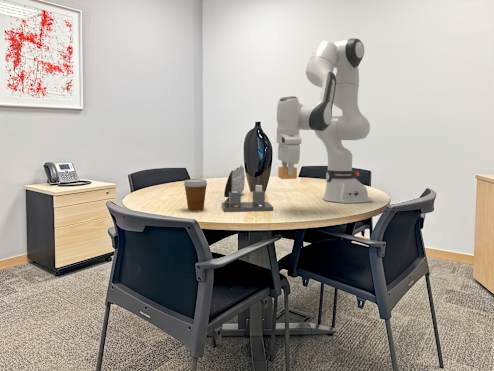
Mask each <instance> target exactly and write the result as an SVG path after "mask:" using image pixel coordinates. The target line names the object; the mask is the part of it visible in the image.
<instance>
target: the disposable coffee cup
mask: <svg viewBox="0 0 494 371" xmlns="http://www.w3.org/2000/svg"><path fill="white" fill-rule="evenodd" d="M183 185H184V189H185V191H184V192H185V198H186V205H187V210H188V211H191V212H201V211H204V209H205V200H206V198H205V197H206V191H207V185H208V182H207V180H206V179H203V178H202V179H201V178H196V179H195V178H193V179H192V178H191V179H186V180H184V183H183Z"/></svg>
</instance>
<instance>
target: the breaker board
mask: <svg viewBox="0 0 494 371" xmlns="http://www.w3.org/2000/svg"><path fill="white" fill-rule="evenodd" d="M232 192H238V193H232ZM265 195H266V192H265V191H264V190H262V192H255V190H253V191H252V201H248V202H247V201H242V200H241V199H242V194H241V192H240V191H229V197H228V202H221V208H222V211H223V213H229V212H230V213H231V212H233V213H235V212H236V213H237V212H239V213H240V212H242V213H243V212H274V206H273V205H272V204H271V203H270V202H268V201H266V196H265Z"/></svg>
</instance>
